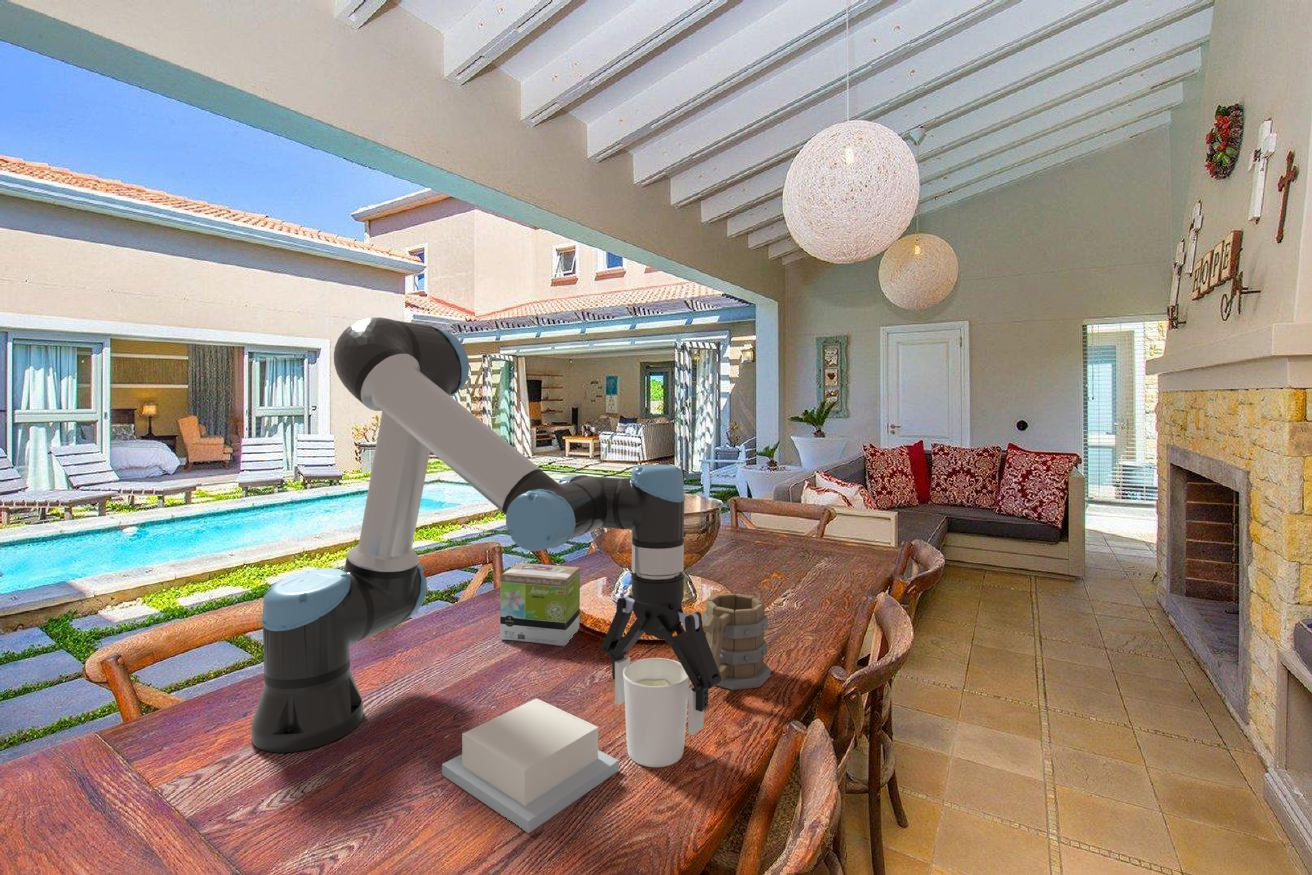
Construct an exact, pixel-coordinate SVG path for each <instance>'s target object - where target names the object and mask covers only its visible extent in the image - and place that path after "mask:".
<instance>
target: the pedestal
mask: <svg viewBox="0 0 1312 875" xmlns="http://www.w3.org/2000/svg"><path fill="white" fill-rule="evenodd" d="M461 735H462V736H461V738H462V739H461V745H462V746H461V747H462V748H461V749H462V750H461V754H458V756H455V757H453V758H451V759H449V760H448V761H445V762H443V763H441V775H442V776H443V777H445V778H446V779H447V780H449V781H451V782H452V783H454V784H455V785H457V786H458V787H460V788H461V789H462V790H463V791H466V792H467V793H468V794H469V795H471V796H472V797H474V798H475V799H477V800H478V801H480V802H481V803H483V804H484V805H486V806H487V807H489V808H490V809H492V810H493V811H494V812H497V813H498V814H499V815H501V816H502V817H504V818H505V817H506V818H507V819H506V818H505V819H506V820H508V821H509V820H510V821H509V822H511V821H512V822H514V823H515V824H516V826H517V825H518V826H519V827H518V826H517V827H518V828H520V829H521V828H522V830H523V831H524V832H525V833H527V834H530V833H531V832H533V831H534V830H536V829H537V828H539V827H541V826H542V825H543V824H544V823H546V822H547V821H548V820H550V819H552V818H553V817H555V816H556V815H557V814H558V813H560V812H561V811H563V810H564V809H566V808H567V807H569V806H570V805H572V804H574V802H576V801H577V800H579V799H580V798H582V797H583V796H585V795H586V794H587V793H589V792H590V791H591V790H593V789H594V788H596V787H598V786H599V785H600V784H602V783H603V782H604V781H606V780H608V779H609V778H610V777H612V776H613V775H615V774H616V773H618V772H619V771H620V770H619V768H620V767H619V766H620V765H619V764H620V763H619V762H620V761H619V759H618V758H615V757H613V756H611V755H609V754H607V753H605V752H604V751H601V750H599V726H598V725H596V724H593V723H591V722H588V721H586V720H585V719H582V718H580V717H577V716H576V715H573V714H571V713H569V712H567V711H564V710H563V709H560V708H558V707H556V706H554V705H552V704H550V703H547V702H545V701H543V700H541V699H539V698H537V697H536V698H533V699H532V700H529V701H528V702H526V703H523V704H522V705H519V706H517V707H515V708H513V709H511V710H509V711H507V712H505V713H503V714H500V715H499V716H496V717H494V718H492V719H490V720H488V721H486V722H484V723H482V724H480V725H477V726H476V727H473V728H471V729H469V730H468V731H465V732H462V734H461ZM512 822H511V823H512ZM514 823H513V824H514ZM515 824H514V825H515Z"/></svg>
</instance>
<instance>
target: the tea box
mask: <svg viewBox="0 0 1312 875" xmlns="http://www.w3.org/2000/svg"><path fill="white" fill-rule="evenodd" d="M499 586H500V587H499V588H500V590H499V591H500V592H499V593H500V595H499V596H500V599H499V600H500V603H499V604H500V605H499V606H500V607H499V610H500V614H499V622H500V623H499V630H500V632H499V634H500V635H499V636H500V640H501V641H503V640H504V641H516V642H517V641H518V642H527V643H528V642H529V643H535V644H541V645H543V644H544V645H550V646H552V645H553V646H560V647H565V645H567V644H568V643H570V641H571V640H572V638H573V637H574V636H575V635H576V634H577V632H578V631H579V630H578V629H580V615H581V614H580V606H581V604H580V603H581V602H580V601H581V600H580V599H581V595H580V594H581V593H580V592H581V567H579V566H566V565H553V564H539V563H529V562H527V563H525V562H517V563H516V564H514V565H513V566H512V567H510V568H508V569H507V570H506V571H504V572H503V573H500V584H499ZM575 633H576V634H575ZM574 634H575V635H574ZM573 635H574V636H573ZM570 639H571V640H570ZM569 640H570V641H569Z"/></svg>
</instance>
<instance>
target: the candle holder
mask: <svg viewBox="0 0 1312 875" xmlns="http://www.w3.org/2000/svg"><path fill="white" fill-rule="evenodd" d="M623 679H624V698H625V702H624V715H625V716H624V717H625V735H626V738H625V740H626V751H627V756H629V758H630V760H632V761H633V762H634V763H636V764H638V765H640V766H644V767H647V768H666V767H670V766H672V765H674V764H676V763H677V762H679V761H680V760H681V758H682V757H683V755H684V752H685V743H686V731H687V730H686V729H687V717H688V688H689V687H690V679H689V677H688V675H687V674H686V672H685V670H684V668H683V667H682V665H681V663H680V661H677V660H674V659H670V658H665V657H664V658H661V657H648V658H641V659H637V660H635V661H632V662H630V664H628V665H627V666H626V667H625V668H624V670H623Z"/></svg>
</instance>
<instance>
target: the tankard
mask: <svg viewBox="0 0 1312 875" xmlns="http://www.w3.org/2000/svg"><path fill="white" fill-rule="evenodd" d="M705 606H706V607H705V608H706V609H705V611H704V612H703V613H702V626H703V630H704V633H705V636H706V639H707V641H708V644H709V647H710V649H711V652H712V655H713V657H714V660H715V663H716V665H717V668H718V671H719V673H720V676H721V682H719V683H718V684H716V685H715V686H716V687H720V688H723V689H727V690H730V691H737V690H748V689H749V690H750V689H755V688H757V689H758V688H760V687H761V686H762V685H763V684H765V682H766V681H768V679H769V678H770V677H771V667H769V666H768V665H767V664H766V663H765V662H764V657H765V656H766V655H767V653H768V642H767V641H766V640H765V638H764V636H765V633H764V632H765V631H766V630H767V629H768V625H769V624H768V623H769V622H768V621H769V618H768V616H767V615H766V614H765V603H763V602H762V601H761V600H759V599H758V598H757V597H755V596H753V595H746V594H741V593H736V592H735V593H723V594H715V595H713V596H712V597H710V598H708V599H707V600H706V602H705Z"/></svg>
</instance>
